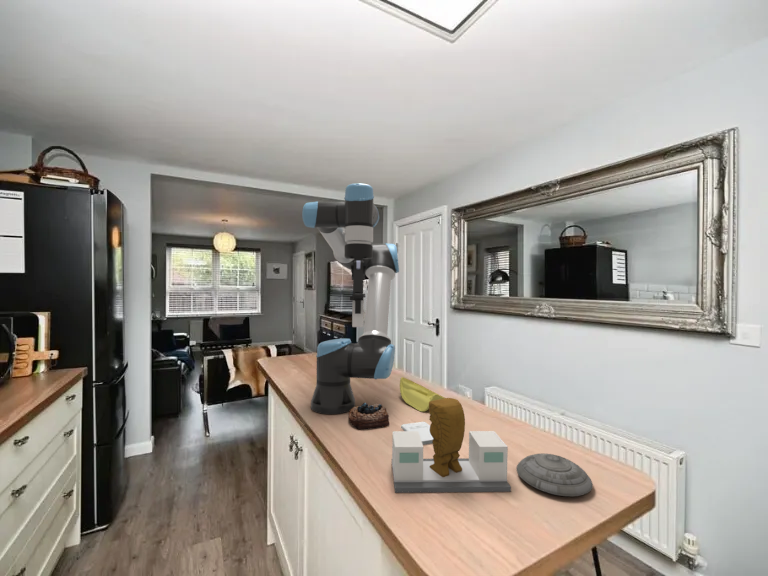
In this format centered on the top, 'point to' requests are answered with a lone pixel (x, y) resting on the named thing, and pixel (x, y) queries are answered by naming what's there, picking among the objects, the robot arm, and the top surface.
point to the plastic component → (417, 394)
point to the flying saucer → (554, 475)
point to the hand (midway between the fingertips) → (357, 323)
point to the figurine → (446, 434)
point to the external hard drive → (420, 431)
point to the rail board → (477, 472)
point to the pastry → (369, 417)
